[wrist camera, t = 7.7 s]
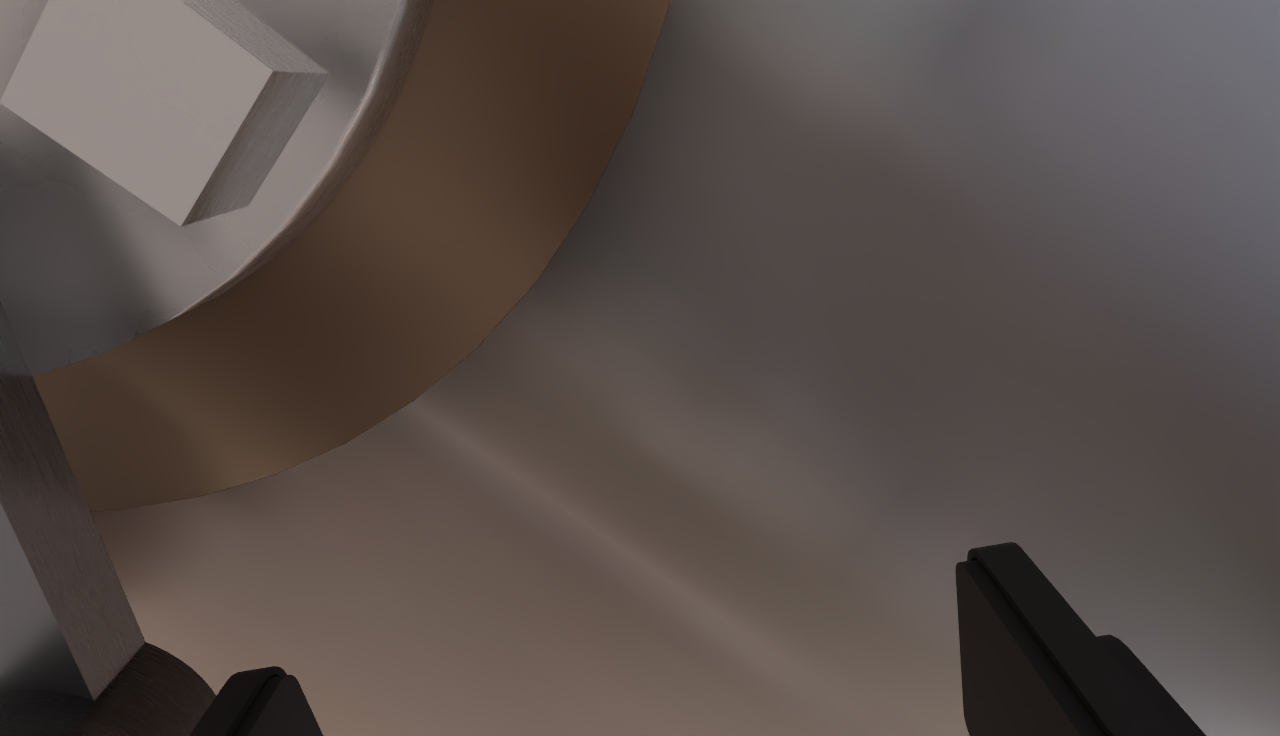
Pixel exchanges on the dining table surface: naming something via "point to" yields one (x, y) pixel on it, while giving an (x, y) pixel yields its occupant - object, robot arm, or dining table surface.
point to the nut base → (374, 261)
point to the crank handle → (146, 271)
